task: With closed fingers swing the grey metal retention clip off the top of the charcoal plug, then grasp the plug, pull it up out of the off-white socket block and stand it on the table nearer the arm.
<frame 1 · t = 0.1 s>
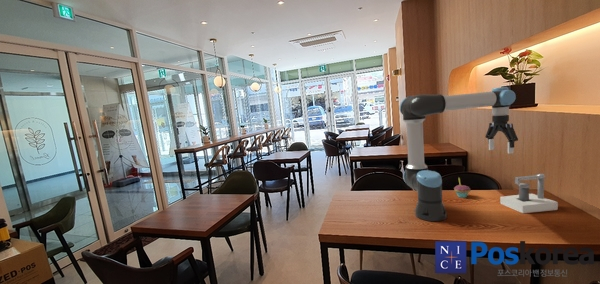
hand: (500, 151, 147), 28 cm above the table, fingers open, 13 cm apart
cupcake: (462, 196, 158), on the table
plug: (523, 206, 136), resting in socket block
socket block: (523, 206, 136), on the table
clip: (530, 179, 134), point 15 cm above the table, hinge at 0.0°
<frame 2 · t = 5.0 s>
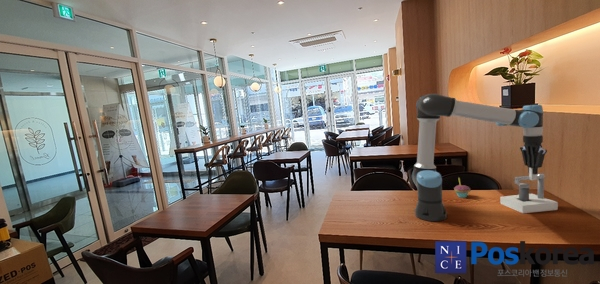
hand: (532, 179, 133), 15 cm above the table, fingers closed
clip: (529, 178, 134), point 15 cm above the table, hinge at -1.0°, touching gripper
everything else where it was.
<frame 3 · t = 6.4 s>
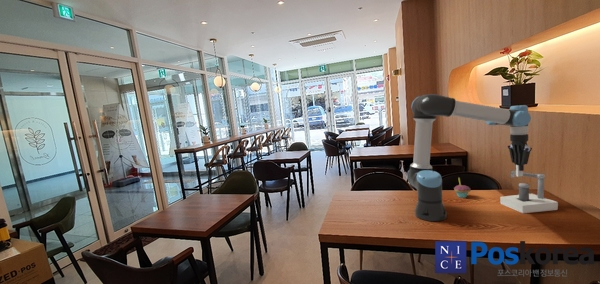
hand: (519, 176, 140), 15 cm above the table, fingers closed
clip: (527, 175, 139), point 15 cm above the table, hinge at -66.1°, touching gripper
everything else where it was.
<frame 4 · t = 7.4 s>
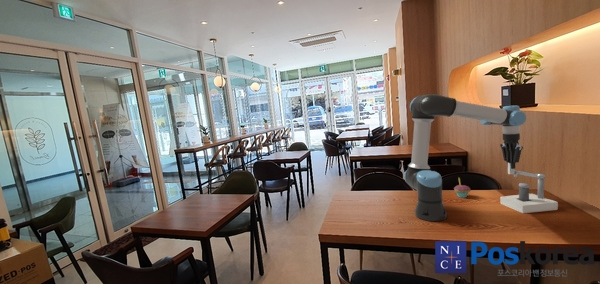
hand: (511, 173, 146), 15 cm above the table, fingers closed
clip: (528, 175, 140), point 15 cm above the table, hinge at -76.1°
everything else where it was.
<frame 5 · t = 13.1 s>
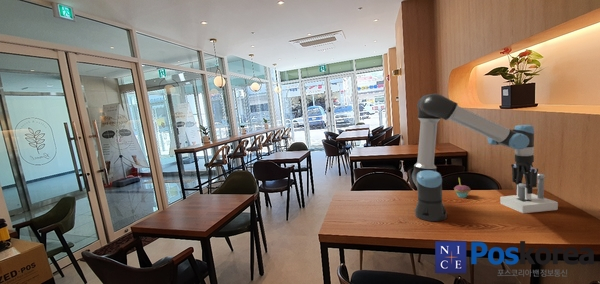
hand: (523, 197, 135), 5 cm above the table, fingers closed on plug, 4 cm apart
plug: (523, 206, 136), resting in socket block, touching gripper
everything else where it was.
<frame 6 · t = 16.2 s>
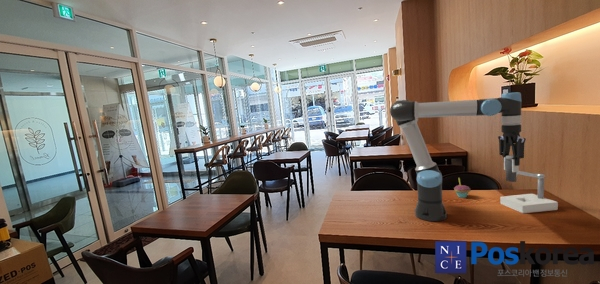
hand: (511, 170, 127), 22 cm above the table, fingers closed on plug, 4 cm apart
plug: (511, 180, 128), point 17 cm above the table, touching gripper
everything else where it was.
when the fingers open (7 cm above the table, at t = 19.4 s): plug drops 1 cm, on the table.
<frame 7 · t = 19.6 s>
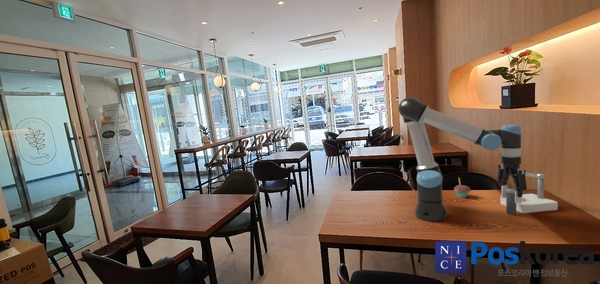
hand: (511, 200, 129), 7 cm above the table, fingers open, 7 cm apart
plug: (511, 213, 130), on the table
everything else where it was.
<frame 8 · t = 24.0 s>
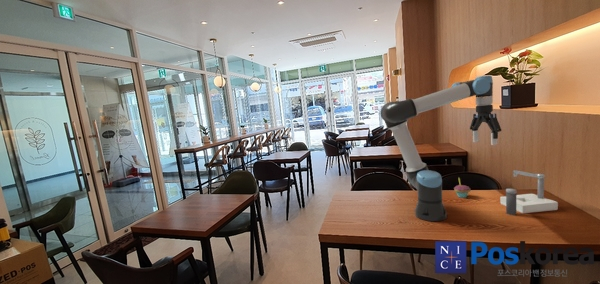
hand: (484, 143, 141), 35 cm above the table, fingers open, 13 cm apart
nothing on the table moved.
at the end: plug inside the target area (0.0 cm from its centre), on the table; plug touching table; the gripper is holding nothing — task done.
